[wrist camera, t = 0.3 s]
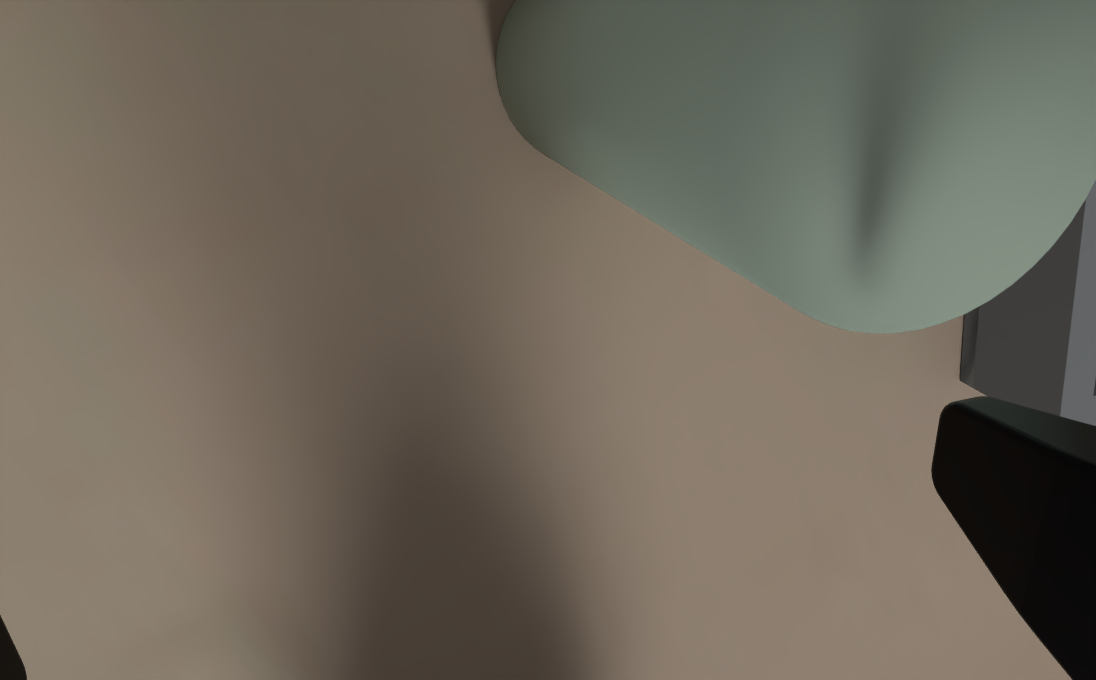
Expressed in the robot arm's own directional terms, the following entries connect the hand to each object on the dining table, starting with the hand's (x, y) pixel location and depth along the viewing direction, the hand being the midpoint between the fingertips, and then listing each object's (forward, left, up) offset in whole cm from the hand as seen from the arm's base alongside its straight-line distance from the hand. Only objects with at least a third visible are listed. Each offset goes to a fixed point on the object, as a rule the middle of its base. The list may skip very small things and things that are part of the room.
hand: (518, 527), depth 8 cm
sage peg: (+3, -5, -15) cm, 16 cm away
